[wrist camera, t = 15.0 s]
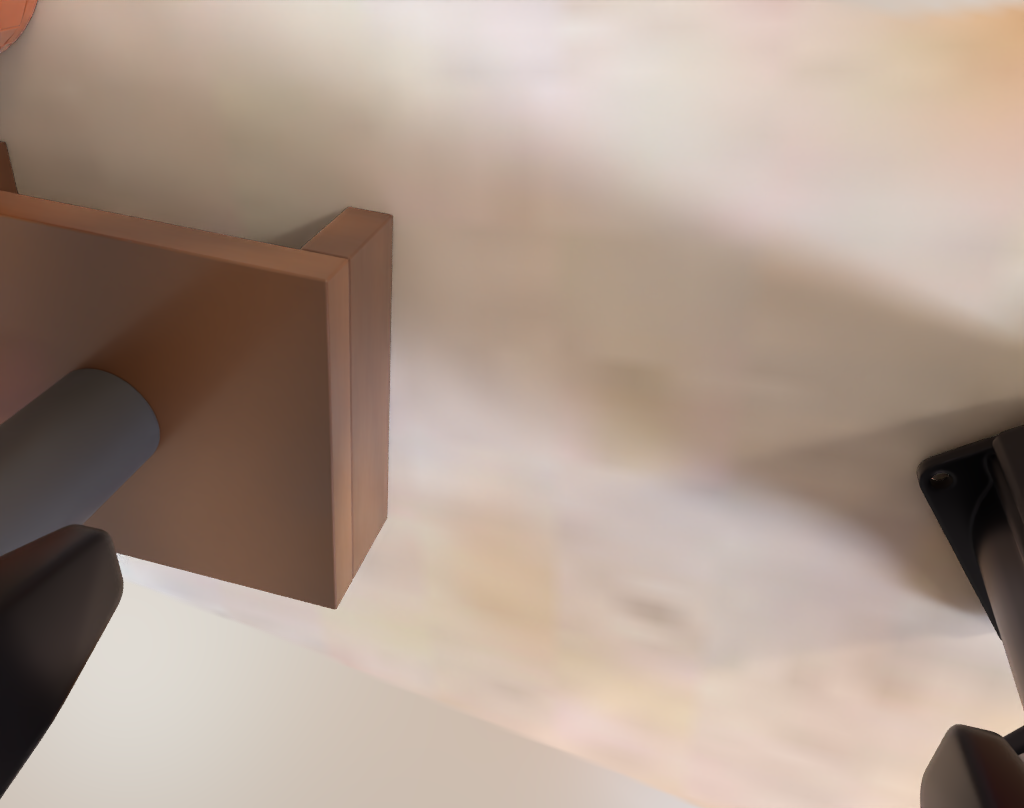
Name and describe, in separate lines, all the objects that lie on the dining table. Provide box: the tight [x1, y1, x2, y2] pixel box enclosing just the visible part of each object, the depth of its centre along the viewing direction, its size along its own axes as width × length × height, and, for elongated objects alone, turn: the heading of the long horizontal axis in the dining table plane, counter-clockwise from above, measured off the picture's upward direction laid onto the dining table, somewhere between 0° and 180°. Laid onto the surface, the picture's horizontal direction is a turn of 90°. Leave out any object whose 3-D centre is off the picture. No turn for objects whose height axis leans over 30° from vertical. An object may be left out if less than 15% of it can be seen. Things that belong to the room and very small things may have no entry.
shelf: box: [0, 141, 393, 609], centre depth 23 cm, size 12×10×4 cm
